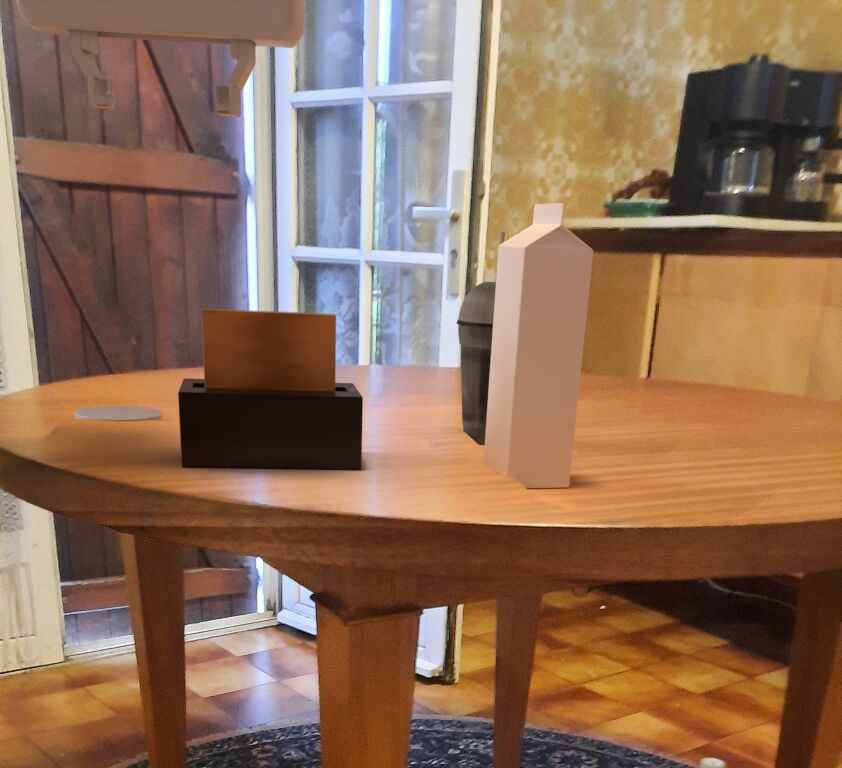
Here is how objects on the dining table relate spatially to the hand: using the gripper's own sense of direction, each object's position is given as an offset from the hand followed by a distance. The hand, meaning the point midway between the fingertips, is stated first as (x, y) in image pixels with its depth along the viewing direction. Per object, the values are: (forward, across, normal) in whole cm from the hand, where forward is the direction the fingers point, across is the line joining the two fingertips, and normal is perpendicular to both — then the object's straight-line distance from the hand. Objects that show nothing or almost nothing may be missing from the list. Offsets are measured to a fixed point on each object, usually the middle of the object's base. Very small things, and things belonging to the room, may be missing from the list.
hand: (165, 112), depth 79 cm
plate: (+27, -13, +24) cm, 38 cm away
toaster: (+26, +7, +5) cm, 28 cm away
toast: (+26, +7, +5) cm, 27 cm away
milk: (+26, +29, +7) cm, 40 cm away
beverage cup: (+26, +25, +27) cm, 45 cm away
